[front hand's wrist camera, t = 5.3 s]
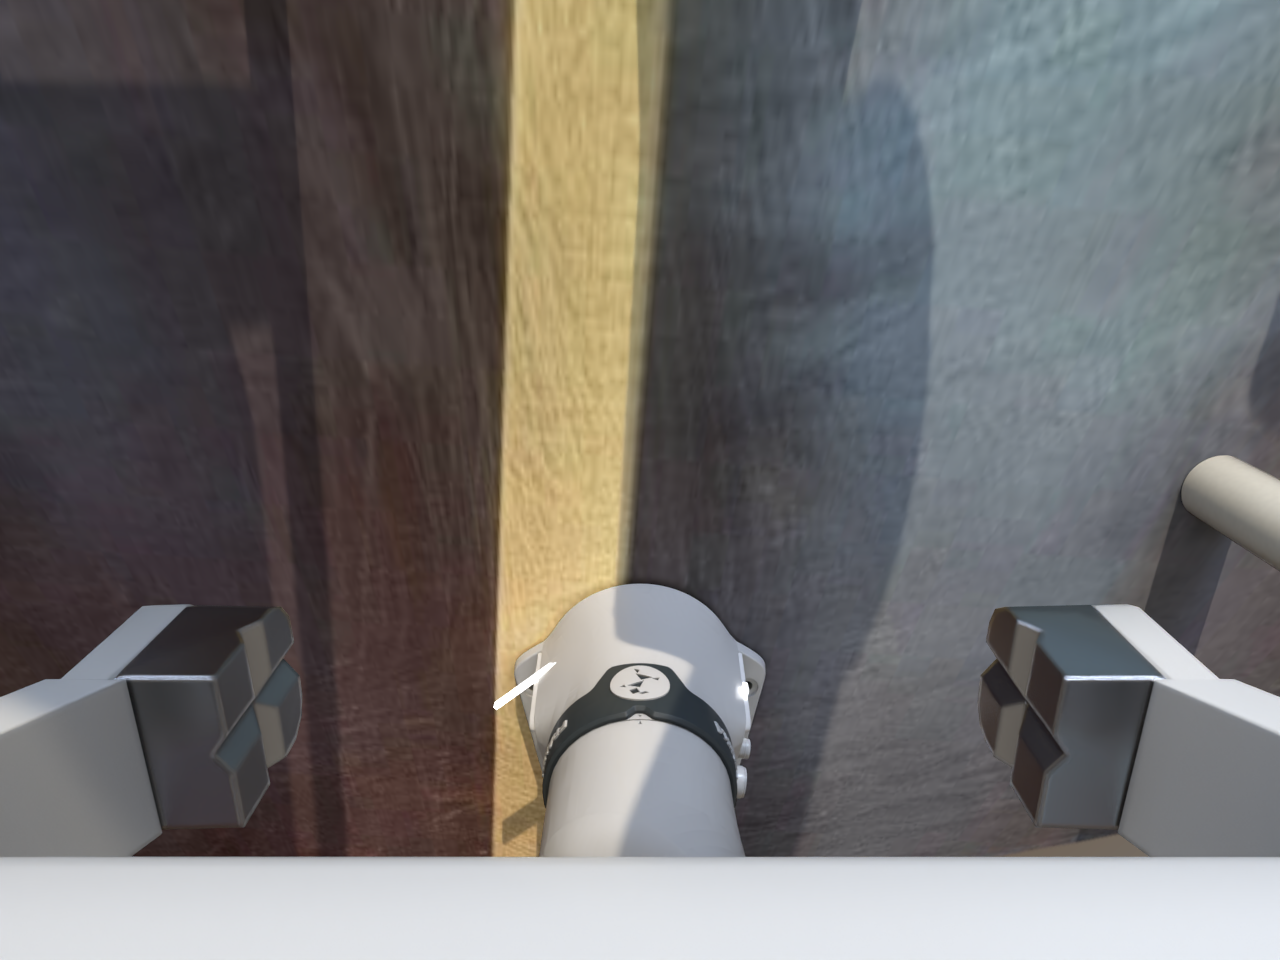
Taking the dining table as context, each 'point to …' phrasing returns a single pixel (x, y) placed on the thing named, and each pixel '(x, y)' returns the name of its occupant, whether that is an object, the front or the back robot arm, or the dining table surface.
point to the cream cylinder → (1237, 504)
